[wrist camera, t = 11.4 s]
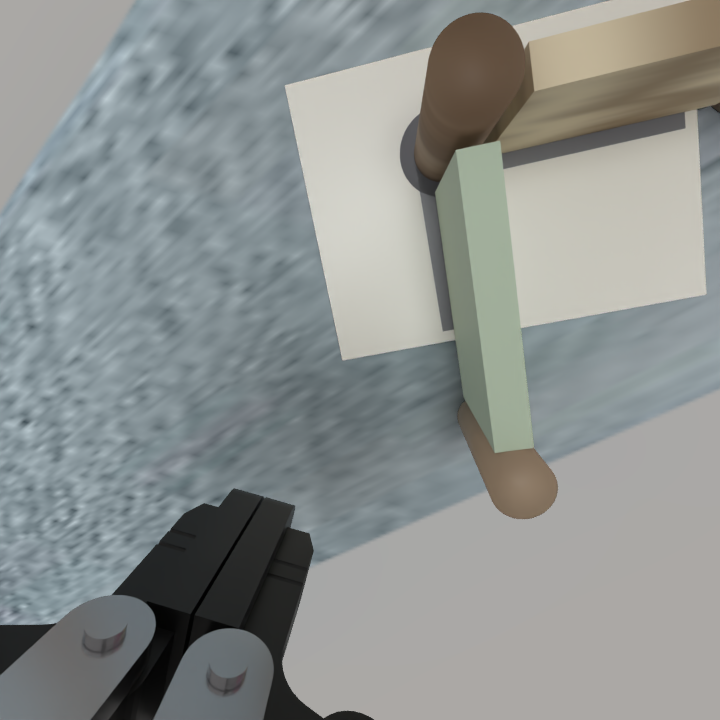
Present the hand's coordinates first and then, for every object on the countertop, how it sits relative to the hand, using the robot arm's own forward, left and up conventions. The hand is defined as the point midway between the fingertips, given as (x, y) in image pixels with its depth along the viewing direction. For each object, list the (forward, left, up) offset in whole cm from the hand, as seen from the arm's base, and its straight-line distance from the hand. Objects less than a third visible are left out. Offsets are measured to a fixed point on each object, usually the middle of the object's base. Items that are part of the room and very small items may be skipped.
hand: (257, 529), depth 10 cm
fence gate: (-7, -3, -10) cm, 13 cm away
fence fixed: (-13, -10, -11) cm, 19 cm away
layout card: (-9, -8, -11) cm, 16 cm away
